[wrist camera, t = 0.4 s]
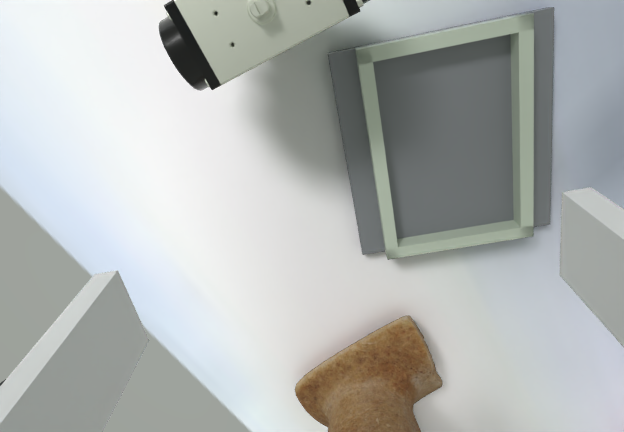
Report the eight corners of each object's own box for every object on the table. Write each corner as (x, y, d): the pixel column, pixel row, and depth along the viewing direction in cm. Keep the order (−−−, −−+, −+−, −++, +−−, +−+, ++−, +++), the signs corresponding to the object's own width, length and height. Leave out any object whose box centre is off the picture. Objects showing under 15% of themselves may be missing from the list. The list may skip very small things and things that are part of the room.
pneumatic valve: (366, 1, 32) (390, -4, 22) (226, 76, 35) (183, 106, 24) (333, -80, 30) (341, -132, 20) (187, 5, 33) (121, 2, 22)
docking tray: (327, 53, 34) (328, 56, 32) (547, 7, 32) (564, 7, 30) (361, 249, 41) (364, 263, 38) (544, 219, 39) (558, 232, 37)
